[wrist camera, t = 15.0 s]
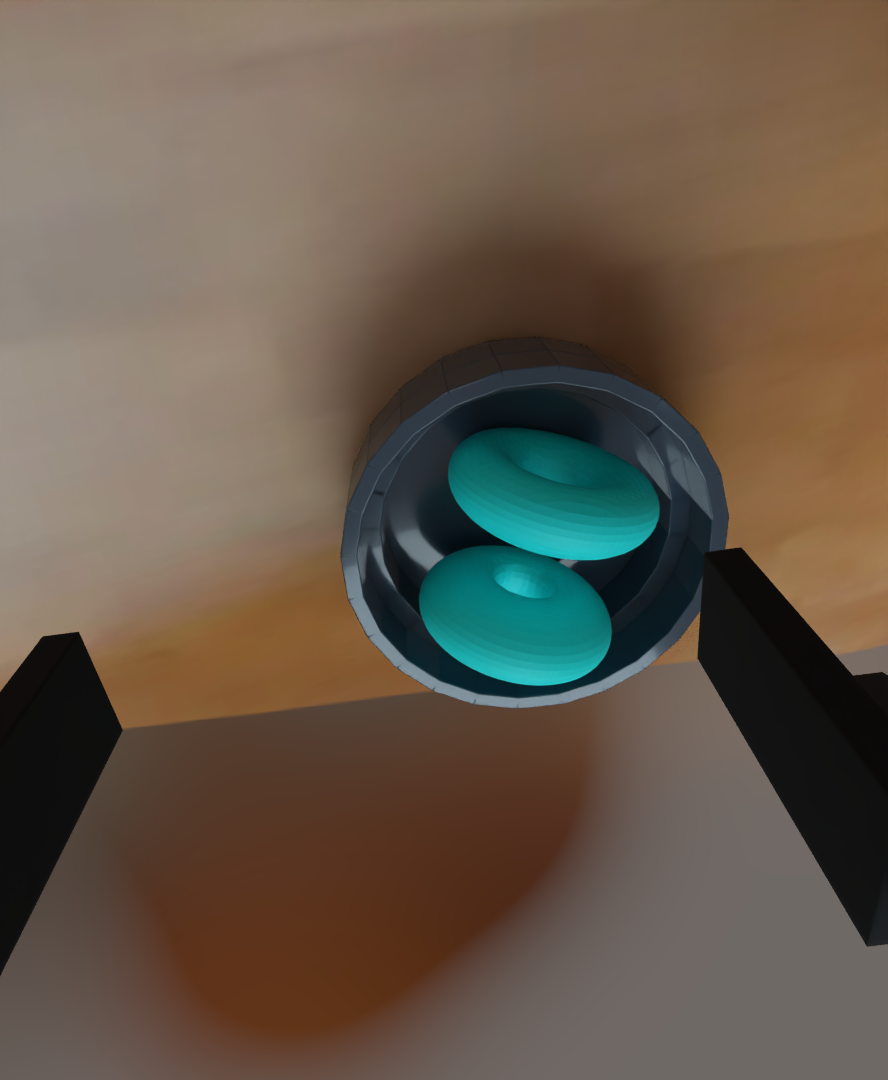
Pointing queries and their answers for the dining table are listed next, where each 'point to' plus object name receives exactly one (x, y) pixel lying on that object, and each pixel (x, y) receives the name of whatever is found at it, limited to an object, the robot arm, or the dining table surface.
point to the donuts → (534, 554)
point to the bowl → (443, 528)
